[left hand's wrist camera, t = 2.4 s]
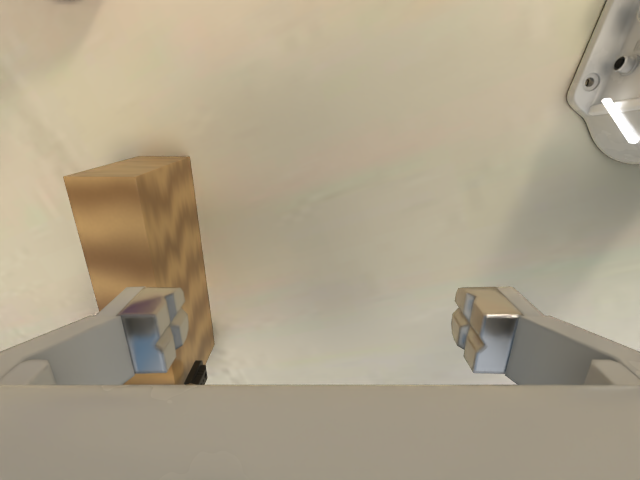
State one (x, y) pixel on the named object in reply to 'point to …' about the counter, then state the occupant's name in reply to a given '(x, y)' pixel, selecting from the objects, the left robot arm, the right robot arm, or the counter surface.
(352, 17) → the counter surface
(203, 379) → the right robot arm
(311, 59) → the counter surface
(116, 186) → the box
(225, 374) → the counter surface
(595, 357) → the left robot arm
